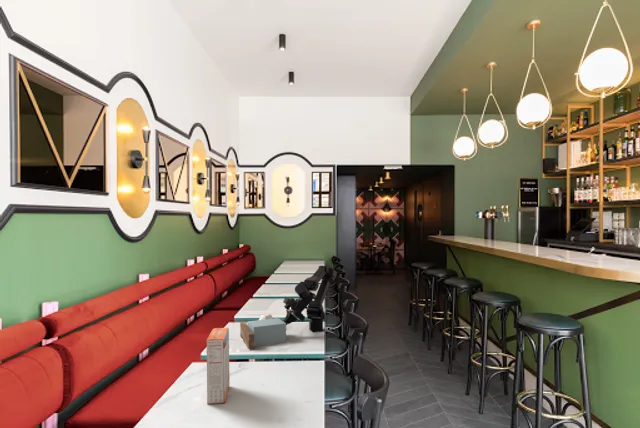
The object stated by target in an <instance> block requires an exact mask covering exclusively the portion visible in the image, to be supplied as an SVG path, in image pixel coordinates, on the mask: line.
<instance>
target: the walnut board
mask: <svg viewBox="0 0 640 428" xmlns="http://www.w3.org/2000/svg"><path fill="white" fill-rule="evenodd" d="M239 324H240V325H239V328H240V329H239V330H240V332H239V333H240V336H239V337H240V338H241V339H243V340H242V341H243V343H244V345H245V344H246V345H245V346H246V348H247V350H248V349H254V350H255V346H254V333H253V332H252V330H251V329H250V328H249V326H248V323H246V321H242V322H240V323H239Z"/></svg>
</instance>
